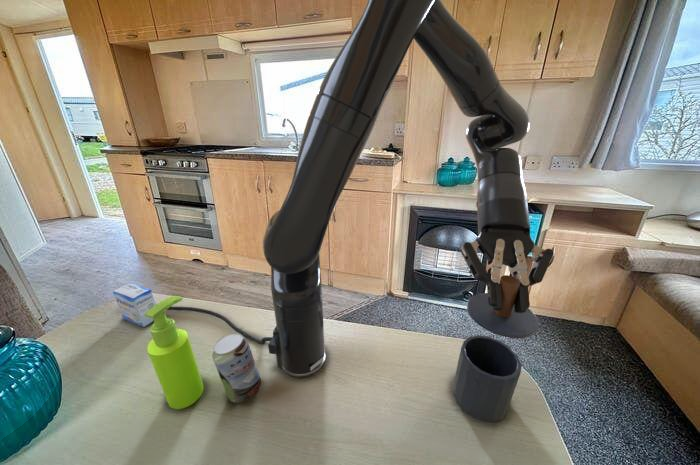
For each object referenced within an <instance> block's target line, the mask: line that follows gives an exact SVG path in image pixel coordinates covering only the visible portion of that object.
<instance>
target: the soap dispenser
mask: <svg viewBox="0 0 700 465" xmlns="http://www.w3.org/2000/svg"><path fill="white" fill-rule="evenodd" d="M182 300H183V297H182V296H178V295H172V296H169V297H167V298H165V299H163V300H161V301H159V302H158V303H156V305H155V306H154V307H152V308H151V309H150V310H148V311H147V312H146V313H144V314H145V316H146V317H149V318H152V319H153V320H154V321H153V324H152V325H151V326H150V327H149V328H150V333H151V336H152V339H151V340H150V341H149V343H148V345H147V346H146V351H147V354H148V356H149V359H150V361H151V363H152V366H153V369H154V371H155V373H156V376H157V379H158V381H159V384H160V386H161V389H162V392H163V394H164V396H165V398H166V401H167V404H168V406H169V407H170V408H171V409H174V410H182V409H185V408H188V407H190V406H192V405H193V404H194V403H196V402H197V401H198V400H199V399H200V397H201V396H202V394H203V392H204V389H205V388H204V387H205V386H204V383H203V380H202V377H201V373H200V370H199V367H198V363H197V360H196V357H195V353H194V350H193V347H192V344H191V341H190V338H189V334H188V332H187V330H185V329H182V328H177V325H176V322H175V320H174V319H173V318H169V317H167V315H166V311H167V309H168V308H169V307H173V306H174V305H176V304H178V303H179V302H182Z"/></svg>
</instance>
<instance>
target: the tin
mask: <svg viewBox="0 0 700 465" xmlns="http://www.w3.org/2000/svg"><path fill="white" fill-rule="evenodd" d="M460 347H461V348H460V352H459V357H458V360H457V366H456V370H455V375H454V379H453V384H452V394H453V397H454V400H455V402H456V403H457V405H458V406H459V407H460V409H462V410H463V411H464V412H465V413H466V414H467V415H468V416H470V417H471V418H474V419H475V420H478V421H481V422H486V423H495V422H496V423H497V422H499V421H501V420H503V419H504V417H505V416H506V415H507V413H508V410H509V407H510V404H511V402H512V398H513V395H514V394H515V390H516V387H517V384H518V381H519V380H520V379H519V378H520V376H521V373H522V365H523V364H522V361H521V360H520V358H519V356H518V354H517V353H516V351H514V350H513V349H512V348H511V347H510V346H509V345H507V344H505V343H504V342H502V341H501V340H499V339H497V338H494V337H490V336H486V335H479V334H478V335H472V336H469V337H467V338H465V339H464V340H463V341H462V344H461V346H460Z"/></svg>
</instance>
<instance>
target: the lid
mask: <svg viewBox="0 0 700 465" xmlns="http://www.w3.org/2000/svg"><path fill="white" fill-rule="evenodd" d="M499 284H501V292H502V309H501V310H493V309H492V306H489V303H488V294H487V292H482V293H477V294H474V295H472V296H471V297H469V299H468V300H467V304H466V310H467V313H468V315H469V317H470V318H471V319H472V320H473V321H474V322H475V323H476V324H477V325H478V326H480V327H481V328H482V329H484V330H486V331H487V332H490V333H492V334H495V335H497V336H501V337H505V338H509V339H527V338H530V337H533V335H535V334H536V333H537V331H538V329H539V320H538V318H537V316H536V314H535V313H534V312H533V311H532V310H531V309H530V307H529V308H528V309H526V312H524V313H516V312H515V308H514V302H515V299H516V296H517V293H518V289H519V286H520V281H519V280H518V279H517V278H515V277H513V276H512V275H509V274H507V275H506V274H504V275H502V276H500V280H499Z"/></svg>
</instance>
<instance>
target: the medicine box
mask: <svg viewBox="0 0 700 465" xmlns="http://www.w3.org/2000/svg"><path fill="white" fill-rule="evenodd" d="M112 294H113V296H114V299H115V302H116V304H117V307H118V310H119V312H120V315H121V317H122V319H123V320H124V321H127V322H130V323H132V324H135V325H137V326H140V327H142V328H144V327H146V326H148V325H149V324H151V323H154V320H153V319H152V318H149V317H146V316H145V314H144V313H146V312H147V311H148V310H150V309H151V308H152V307H154V306H155V305H156V304H157V303H156V299H155V297H154V294H153V291H152V289H150V288H147V287H144V286H141V285H138V284H135V283H132V282H129V283H127V284H125V285H122V286H120V287H117V289H115V290H113V291H112Z"/></svg>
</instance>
